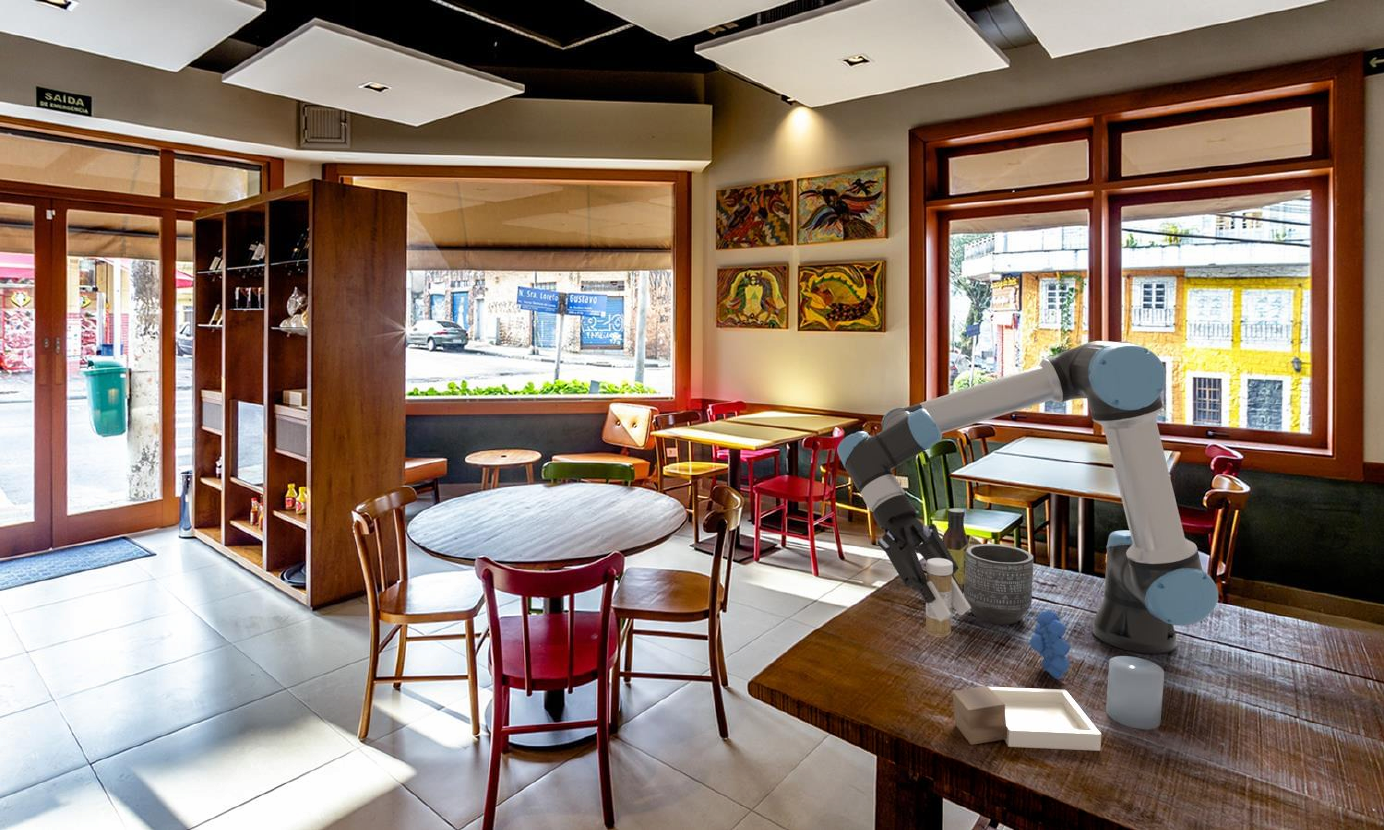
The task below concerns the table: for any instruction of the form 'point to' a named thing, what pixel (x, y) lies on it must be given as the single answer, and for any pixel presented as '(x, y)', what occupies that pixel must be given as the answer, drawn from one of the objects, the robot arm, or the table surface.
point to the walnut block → (979, 715)
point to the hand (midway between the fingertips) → (955, 614)
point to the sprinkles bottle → (942, 580)
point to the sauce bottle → (957, 542)
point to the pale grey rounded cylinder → (1135, 692)
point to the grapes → (1051, 643)
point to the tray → (1046, 720)
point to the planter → (998, 582)
